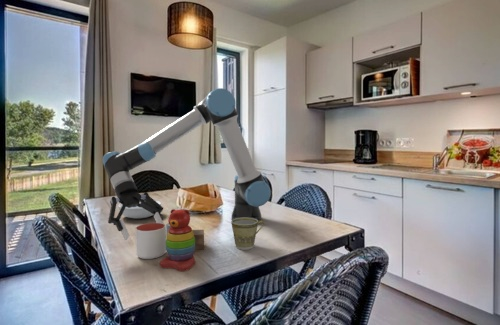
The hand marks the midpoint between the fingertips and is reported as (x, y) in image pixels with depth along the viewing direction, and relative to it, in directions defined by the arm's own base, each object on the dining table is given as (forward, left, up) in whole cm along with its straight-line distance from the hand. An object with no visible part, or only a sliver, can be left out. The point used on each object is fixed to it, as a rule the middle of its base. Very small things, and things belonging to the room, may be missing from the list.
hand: (145, 233), depth 103 cm
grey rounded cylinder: (-4, -14, -8) cm, 16 cm away
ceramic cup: (-34, -14, -8) cm, 38 cm away
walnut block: (-15, -9, -8) cm, 19 cm away
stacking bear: (-15, +5, -8) cm, 18 cm away
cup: (-2, 0, -8) cm, 8 cm away
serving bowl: (+30, -46, -8) cm, 55 cm away
